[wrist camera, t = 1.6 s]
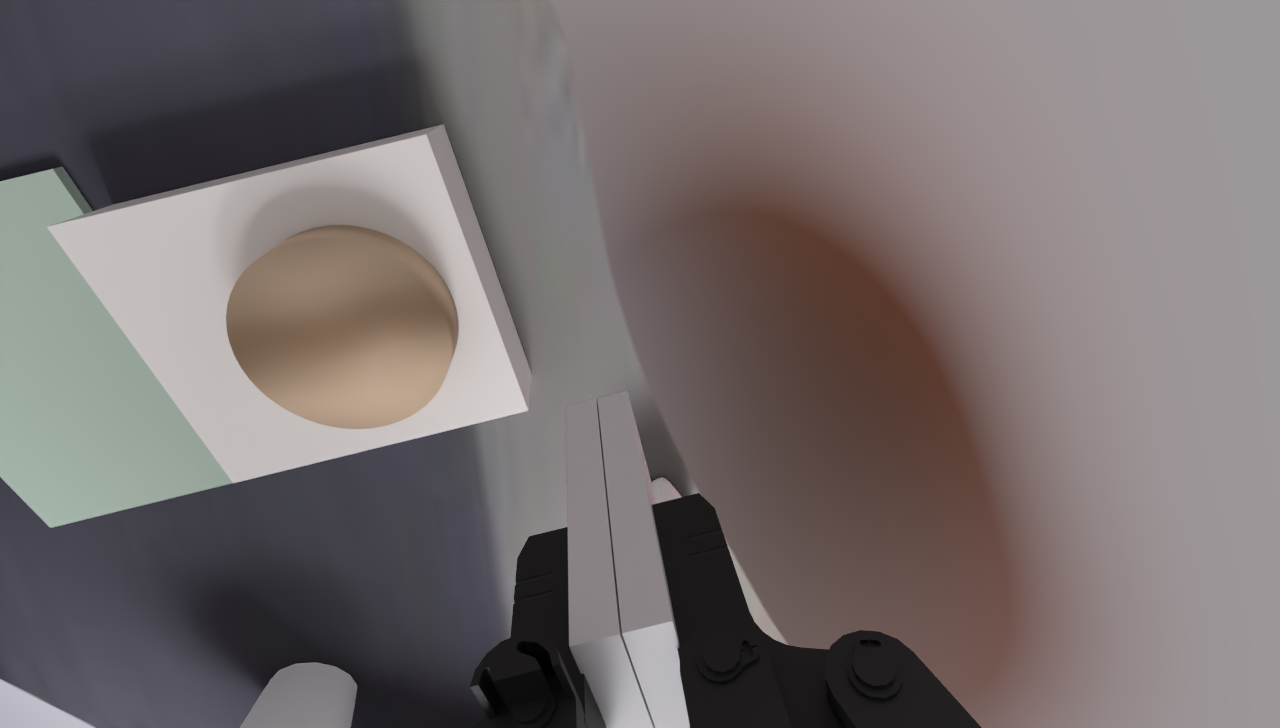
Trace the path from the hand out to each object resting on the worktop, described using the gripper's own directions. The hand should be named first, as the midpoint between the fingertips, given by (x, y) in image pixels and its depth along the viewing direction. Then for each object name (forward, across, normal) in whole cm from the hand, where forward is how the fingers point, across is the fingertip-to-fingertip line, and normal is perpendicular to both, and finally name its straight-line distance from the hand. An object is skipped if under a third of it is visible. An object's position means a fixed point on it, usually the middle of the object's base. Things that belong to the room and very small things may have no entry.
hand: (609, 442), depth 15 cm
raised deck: (+18, +13, 0) cm, 22 cm away
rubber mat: (+18, +28, 0) cm, 34 cm away
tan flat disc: (+14, +11, 0) cm, 18 cm away
